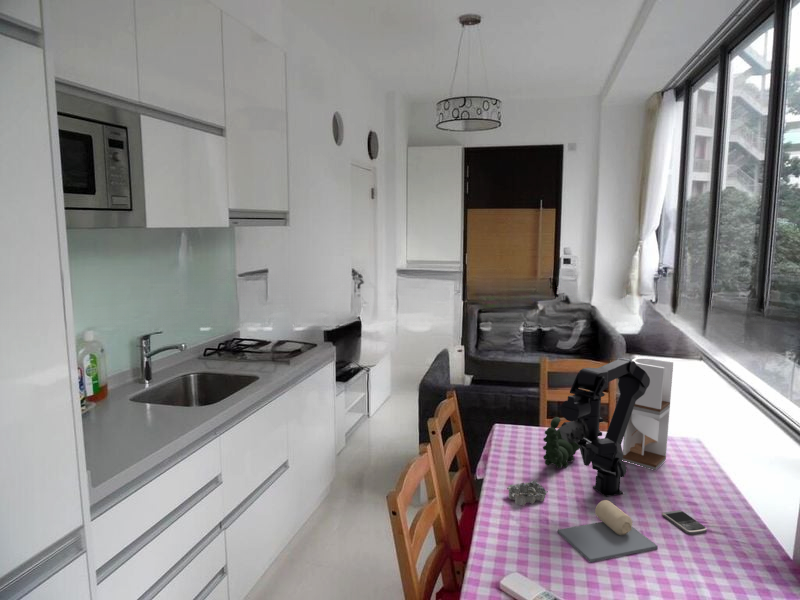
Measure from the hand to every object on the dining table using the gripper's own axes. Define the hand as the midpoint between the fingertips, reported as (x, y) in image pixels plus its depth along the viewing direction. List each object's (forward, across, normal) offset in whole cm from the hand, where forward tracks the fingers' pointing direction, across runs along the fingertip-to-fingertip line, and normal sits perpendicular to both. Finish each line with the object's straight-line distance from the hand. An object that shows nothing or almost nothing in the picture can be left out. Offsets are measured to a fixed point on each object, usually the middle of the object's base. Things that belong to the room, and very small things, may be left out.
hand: (586, 465), depth 167 cm
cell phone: (+13, +17, +20) cm, 29 cm away
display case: (+12, -20, +38) cm, 45 cm away
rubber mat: (+12, +18, -6) cm, 22 cm away
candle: (+8, +10, -1) cm, 13 cm away
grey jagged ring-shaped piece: (+12, -8, -14) cm, 21 cm away
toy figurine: (+12, -28, +11) cm, 33 cm away
